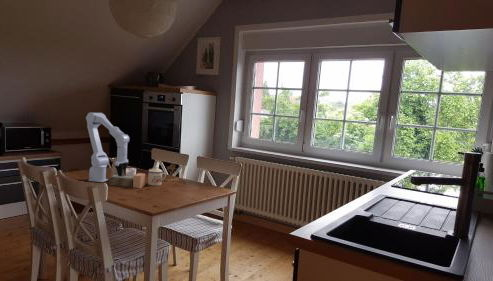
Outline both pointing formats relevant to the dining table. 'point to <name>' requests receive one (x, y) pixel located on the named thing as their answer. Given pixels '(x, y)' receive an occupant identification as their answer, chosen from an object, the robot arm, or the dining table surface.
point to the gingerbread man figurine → (172, 175)
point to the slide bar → (122, 176)
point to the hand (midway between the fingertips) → (121, 175)
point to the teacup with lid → (155, 176)
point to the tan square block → (139, 180)
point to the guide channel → (121, 182)
